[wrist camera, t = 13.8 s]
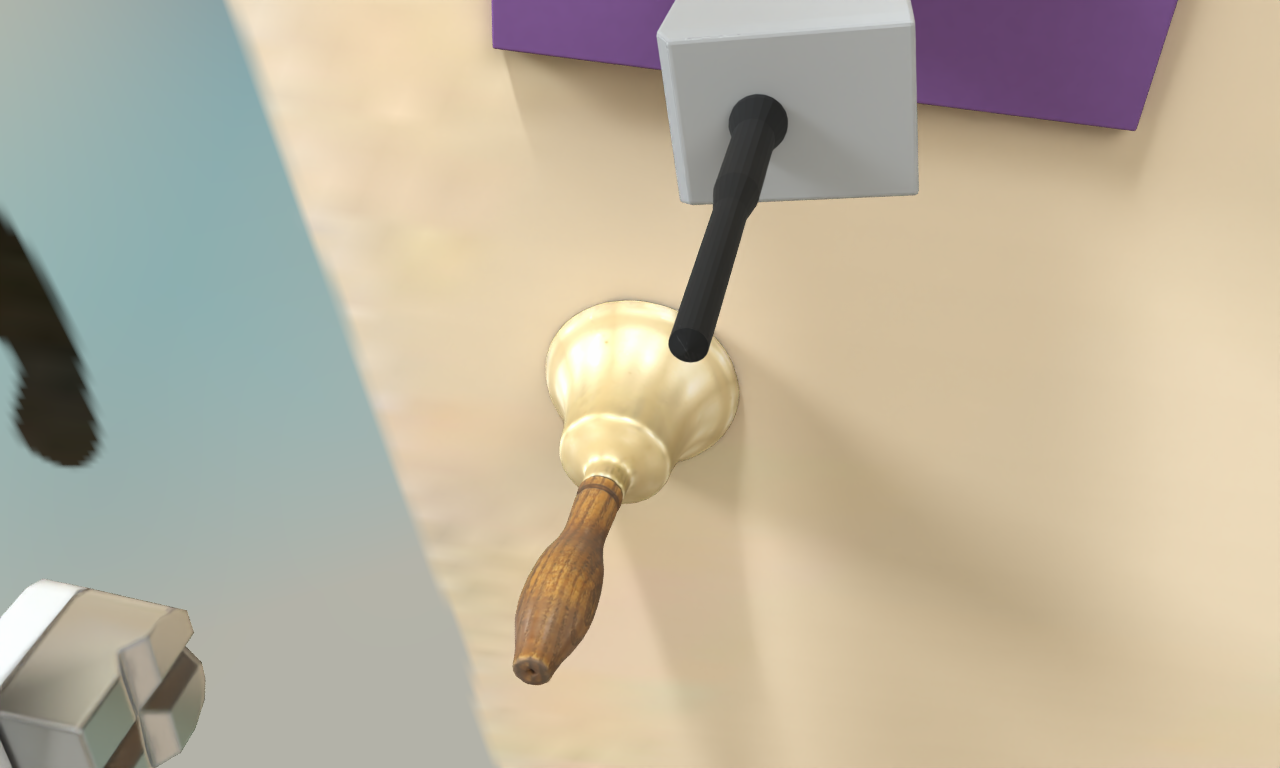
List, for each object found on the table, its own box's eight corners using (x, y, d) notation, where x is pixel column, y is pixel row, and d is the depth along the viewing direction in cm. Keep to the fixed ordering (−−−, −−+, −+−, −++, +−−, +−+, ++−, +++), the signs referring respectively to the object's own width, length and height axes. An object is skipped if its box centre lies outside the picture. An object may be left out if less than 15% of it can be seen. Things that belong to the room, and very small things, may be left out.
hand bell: (634, 487, 54) (537, 785, 41) (507, 359, 51) (362, 636, 38) (779, 406, 49) (723, 710, 37) (650, 262, 47) (541, 536, 34)
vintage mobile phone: (928, -40, 37) (908, 455, 17) (769, -26, 38) (581, 452, 19) (926, -169, 35) (901, 227, 15) (759, -149, 36) (534, 241, 17)
